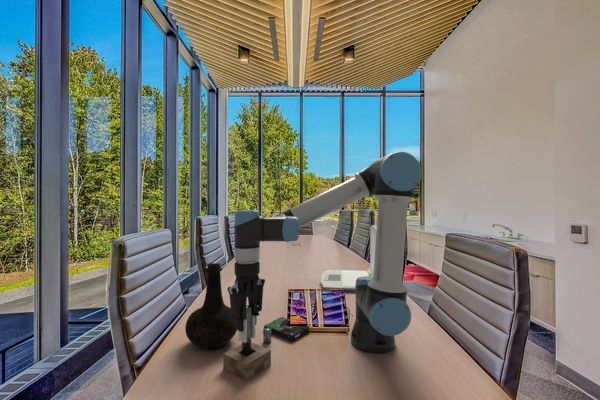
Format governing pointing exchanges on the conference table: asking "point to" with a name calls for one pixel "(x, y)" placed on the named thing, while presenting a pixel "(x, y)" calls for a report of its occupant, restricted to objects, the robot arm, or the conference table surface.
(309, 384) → the conference table surface
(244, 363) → the socket block
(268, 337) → the short pin
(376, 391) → the conference table surface
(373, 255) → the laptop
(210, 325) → the glass bottle
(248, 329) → the long pin
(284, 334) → the disk drive
